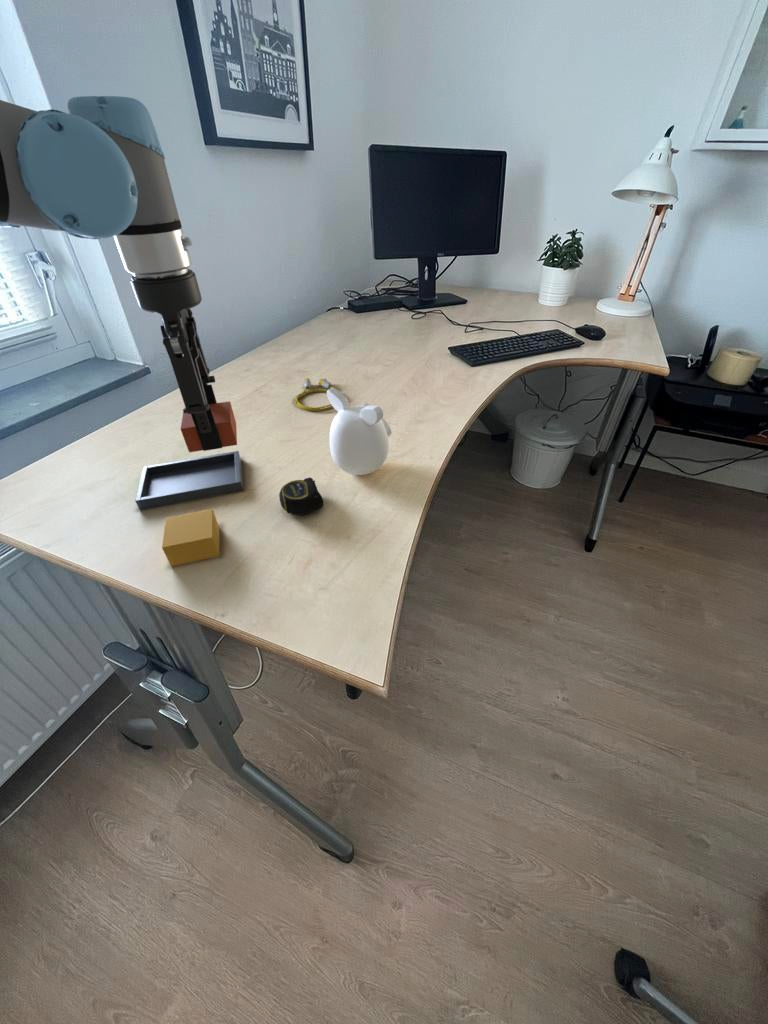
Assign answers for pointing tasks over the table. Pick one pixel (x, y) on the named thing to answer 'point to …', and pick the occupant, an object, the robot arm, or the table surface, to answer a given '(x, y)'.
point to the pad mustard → (191, 537)
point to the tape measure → (300, 497)
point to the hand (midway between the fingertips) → (213, 435)
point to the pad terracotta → (223, 423)
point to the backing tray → (189, 480)
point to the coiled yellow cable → (307, 386)
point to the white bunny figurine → (357, 436)
